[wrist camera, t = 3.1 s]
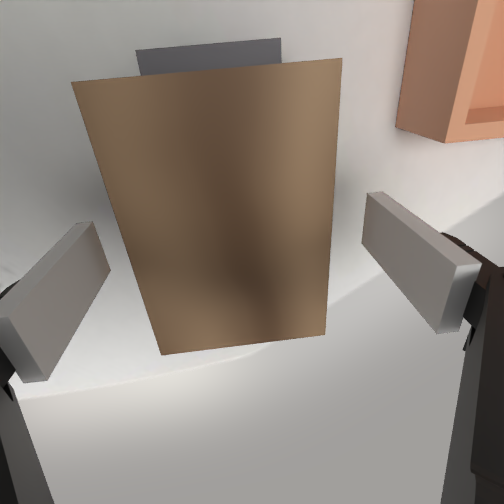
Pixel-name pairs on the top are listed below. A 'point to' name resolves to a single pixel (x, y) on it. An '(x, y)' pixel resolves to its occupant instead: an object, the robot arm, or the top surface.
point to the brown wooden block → (222, 196)
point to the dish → (454, 71)
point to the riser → (209, 56)
